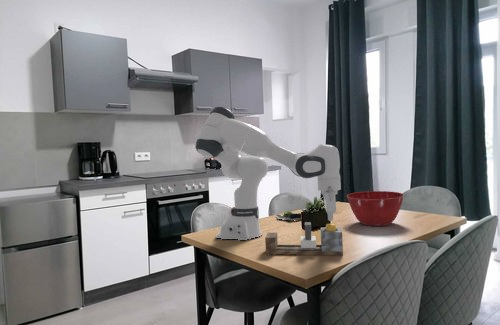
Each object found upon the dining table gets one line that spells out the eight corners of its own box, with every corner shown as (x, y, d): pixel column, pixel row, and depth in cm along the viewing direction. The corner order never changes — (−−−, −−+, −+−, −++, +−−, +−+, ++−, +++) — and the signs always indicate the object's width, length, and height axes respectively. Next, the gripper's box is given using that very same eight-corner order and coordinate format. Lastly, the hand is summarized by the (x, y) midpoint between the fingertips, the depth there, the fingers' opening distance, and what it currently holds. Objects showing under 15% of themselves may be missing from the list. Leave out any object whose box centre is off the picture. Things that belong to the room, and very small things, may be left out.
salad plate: (267, 220, 212) (267, 212, 212) (285, 214, 225) (285, 207, 225) (294, 223, 199) (294, 215, 199) (312, 217, 212) (311, 210, 212)
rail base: (266, 254, 143) (264, 232, 143) (268, 249, 151) (267, 227, 151) (343, 255, 138) (342, 232, 138) (341, 249, 146) (340, 227, 145)
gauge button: (326, 237, 141) (325, 225, 141) (326, 234, 145) (325, 223, 144) (336, 237, 140) (336, 225, 140) (336, 234, 144) (335, 223, 144)
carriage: (300, 248, 141) (299, 225, 141) (301, 243, 148) (300, 221, 148) (316, 248, 140) (315, 225, 140) (316, 243, 147) (315, 221, 147)
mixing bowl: (357, 231, 174) (356, 199, 173) (341, 219, 202) (340, 192, 202) (415, 228, 175) (414, 196, 174) (390, 216, 203) (389, 189, 202)
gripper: (339, 188, 131) (340, 225, 131) (335, 182, 151) (337, 215, 151) (321, 188, 132) (323, 226, 132) (320, 182, 152) (321, 215, 152)
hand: (330, 220), depth 142 cm, fingers closed
